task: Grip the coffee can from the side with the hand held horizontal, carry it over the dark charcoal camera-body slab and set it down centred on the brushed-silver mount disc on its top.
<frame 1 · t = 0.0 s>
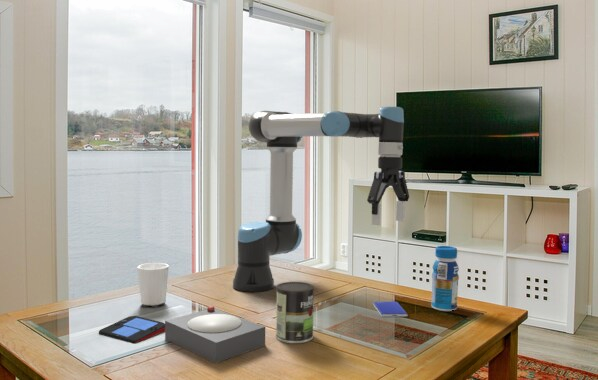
hand: (388, 222, 167), 28 cm above the table, tool pointing down, fingers open, 13 cm apart
cup: (153, 305, 170), on the table
coffee can: (294, 337, 143), on the table
beverage bottle: (443, 308, 171), on the table
game console: (133, 333, 145), on the table
hard drive: (389, 312, 168), on the table
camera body: (214, 342, 138), on the table
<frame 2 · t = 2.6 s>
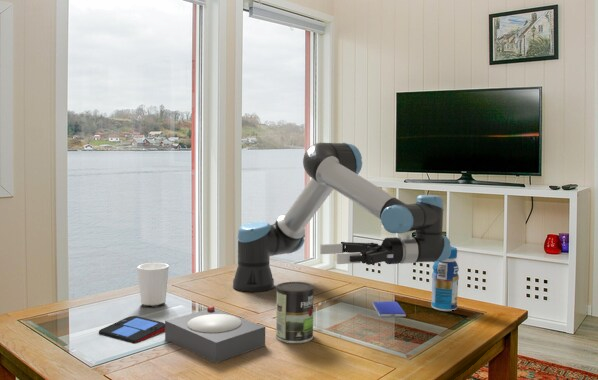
hand: (328, 253, 144), 23 cm above the table, tool horizontal, fingers open, 13 cm apart
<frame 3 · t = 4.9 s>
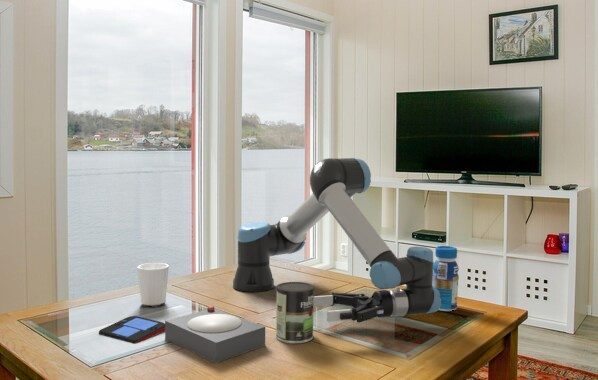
hand: (318, 308, 144), 7 cm above the table, tool horizontal, fingers open, 13 cm apart
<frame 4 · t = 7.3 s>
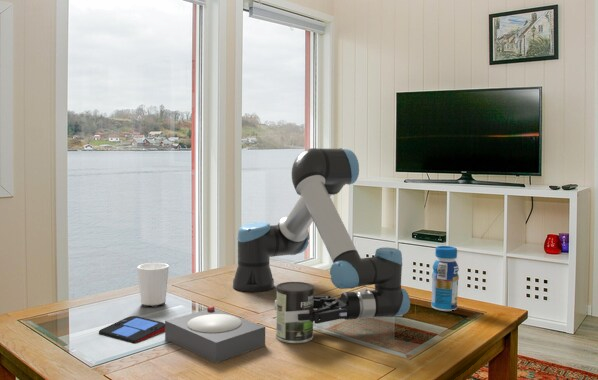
hand: (279, 311, 141), 8 cm above the table, tool horizontal, fingers closed on coffee can, 10 cm apart
coffee can: (294, 337, 143), on the table, touching gripper
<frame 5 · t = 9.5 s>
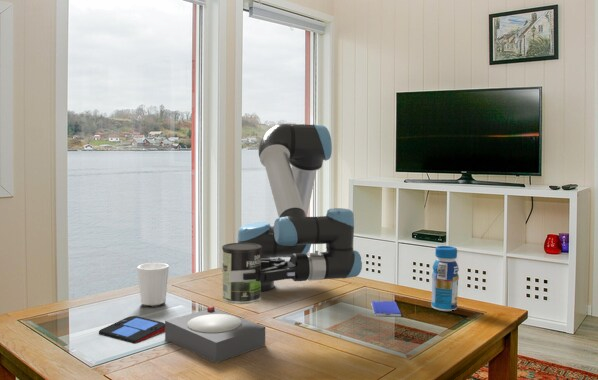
hand: (225, 271, 136), 19 cm above the table, tool horizontal, fingers closed on coffee can, 10 cm apart
coffee can: (241, 299, 138), point 11 cm above the table, touching gripper
when the fingers open (14 cm above the table, at t = 11.8 s): coffee can drops 1 cm, resting on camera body.
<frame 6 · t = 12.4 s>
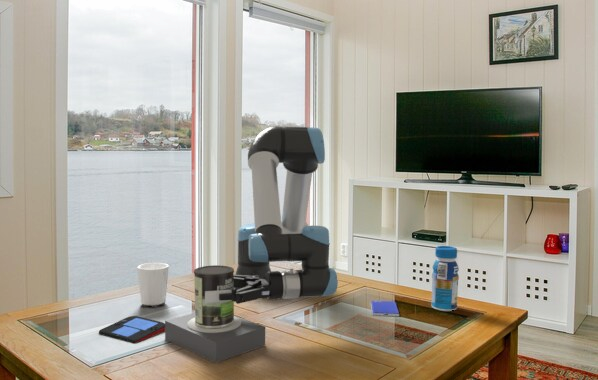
hand: (201, 289, 136), 14 cm above the table, tool horizontal, fingers open, 13 cm apart
coffee can: (214, 322, 138), point 5 cm above the table, touching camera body
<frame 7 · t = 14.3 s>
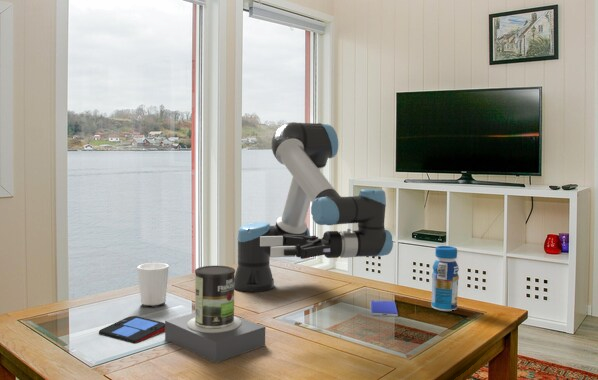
hand: (265, 246, 142), 25 cm above the table, tool horizontal, fingers open, 13 cm apart
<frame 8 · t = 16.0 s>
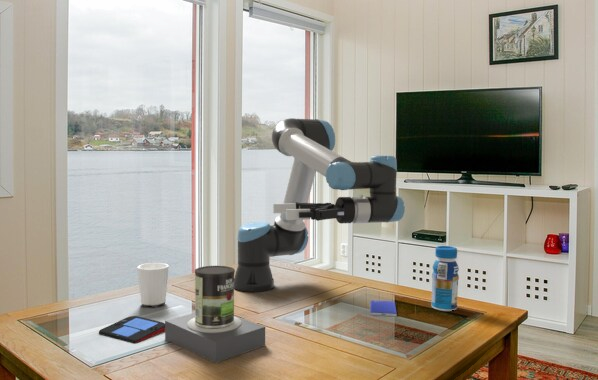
hand: (279, 211, 143), 34 cm above the table, tool horizontal, fingers open, 13 cm apart
at the end: coffee can 0.0 cm from the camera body (horizontally); coffee can point 5.1 cm above the table; coffee can tilted 0° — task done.
